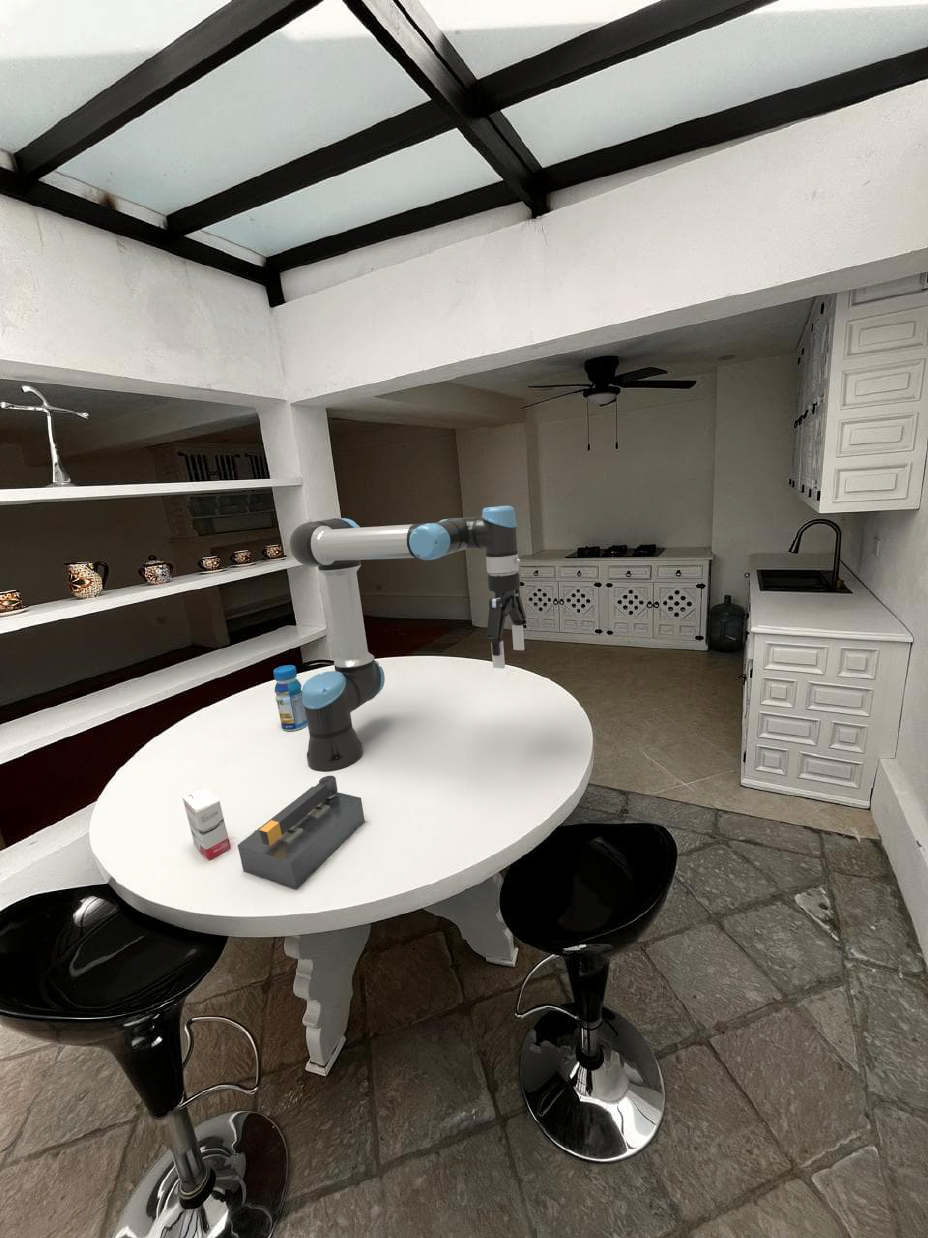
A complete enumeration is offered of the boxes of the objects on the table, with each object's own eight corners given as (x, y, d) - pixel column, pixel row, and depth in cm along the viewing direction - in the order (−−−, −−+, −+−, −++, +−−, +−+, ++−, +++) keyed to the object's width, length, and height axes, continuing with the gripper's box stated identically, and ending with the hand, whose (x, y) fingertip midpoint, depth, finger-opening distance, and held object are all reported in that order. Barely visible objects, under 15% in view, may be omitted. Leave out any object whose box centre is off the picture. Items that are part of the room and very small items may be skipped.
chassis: (243, 871, 99) (236, 841, 98) (316, 809, 117) (311, 783, 116) (296, 890, 93) (289, 858, 91) (364, 821, 111) (360, 794, 109)
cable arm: (259, 842, 96) (256, 829, 95) (328, 786, 113) (326, 774, 112) (272, 847, 94) (269, 833, 94) (341, 789, 112) (338, 777, 111)
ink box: (232, 848, 107) (220, 799, 104) (208, 861, 103) (195, 811, 100) (216, 832, 112) (205, 785, 109) (193, 844, 109) (180, 796, 106)
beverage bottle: (309, 728, 161) (299, 669, 156) (282, 734, 158) (270, 675, 153) (307, 718, 168) (297, 662, 164) (281, 724, 166) (269, 667, 161)
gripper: (497, 583, 106) (505, 677, 111) (535, 564, 127) (539, 643, 133) (466, 583, 109) (474, 674, 114) (507, 564, 131) (513, 642, 136)
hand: (509, 658), depth 124 cm, fingers open, 13 cm apart
